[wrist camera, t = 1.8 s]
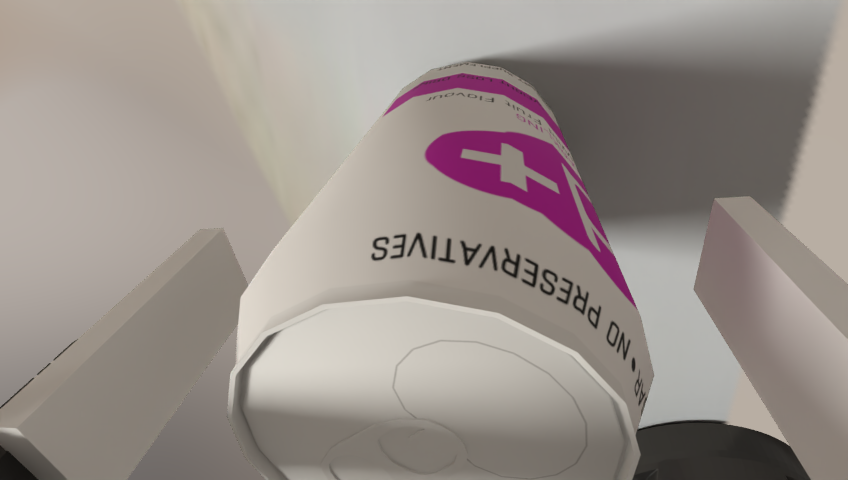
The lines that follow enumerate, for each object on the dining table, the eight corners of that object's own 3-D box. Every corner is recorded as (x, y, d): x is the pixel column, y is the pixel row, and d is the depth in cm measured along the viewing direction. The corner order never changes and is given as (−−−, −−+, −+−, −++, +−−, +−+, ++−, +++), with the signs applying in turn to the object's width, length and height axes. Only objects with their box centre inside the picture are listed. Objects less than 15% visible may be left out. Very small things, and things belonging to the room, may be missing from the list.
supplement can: (478, 13, 17) (434, 124, 4) (595, 165, 20) (779, 511, 7) (345, 143, 21) (111, 408, 8) (458, 257, 23) (415, 597, 11)
